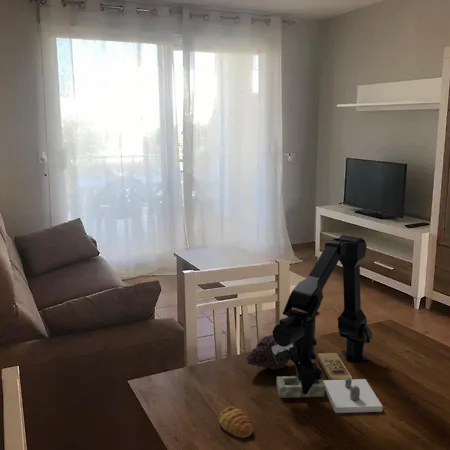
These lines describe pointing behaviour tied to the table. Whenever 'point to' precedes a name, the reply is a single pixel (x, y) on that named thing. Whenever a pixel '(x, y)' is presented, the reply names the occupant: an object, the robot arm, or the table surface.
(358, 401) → the post board
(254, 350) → the pine cone
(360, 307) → the robot arm
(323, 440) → the table surface
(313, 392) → the bar
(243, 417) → the pastry
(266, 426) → the table surface
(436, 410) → the table surface
